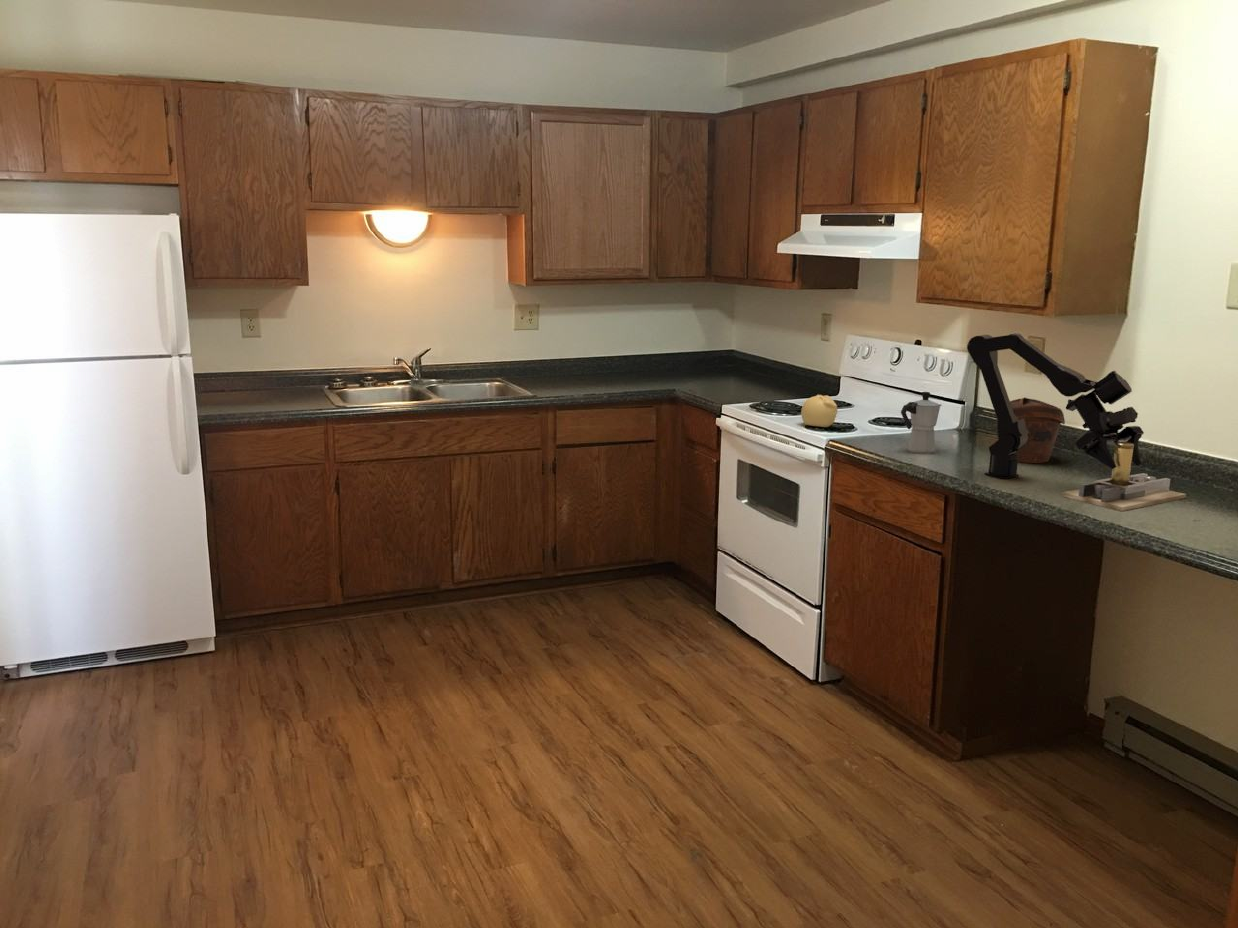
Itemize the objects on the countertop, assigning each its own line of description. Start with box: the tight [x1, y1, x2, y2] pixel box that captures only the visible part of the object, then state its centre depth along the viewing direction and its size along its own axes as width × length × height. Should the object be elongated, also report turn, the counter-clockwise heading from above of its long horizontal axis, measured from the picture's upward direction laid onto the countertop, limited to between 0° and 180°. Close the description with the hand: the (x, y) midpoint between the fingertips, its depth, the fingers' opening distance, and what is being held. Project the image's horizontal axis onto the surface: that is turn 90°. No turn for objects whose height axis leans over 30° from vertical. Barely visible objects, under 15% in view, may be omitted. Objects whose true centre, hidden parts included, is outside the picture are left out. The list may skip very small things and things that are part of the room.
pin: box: [1110, 442, 1134, 486], centre depth 249 cm, size 4×4×13 cm
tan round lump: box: [800, 394, 838, 428], centre depth 340 cm, size 12×12×11 cm
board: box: [1061, 488, 1187, 512], centre depth 252 cm, size 16×27×1 cm, turn 122°
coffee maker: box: [900, 391, 943, 455], centre depth 301 cm, size 15×9×18 cm, turn 113°
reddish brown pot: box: [1010, 396, 1066, 464], centre depth 294 cm, size 18×20×18 cm
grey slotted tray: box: [1078, 472, 1171, 503], centre depth 252 cm, size 8×27×3 cm, turn 121°
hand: (1127, 466), depth 248 cm, fingers open, 9 cm apart
